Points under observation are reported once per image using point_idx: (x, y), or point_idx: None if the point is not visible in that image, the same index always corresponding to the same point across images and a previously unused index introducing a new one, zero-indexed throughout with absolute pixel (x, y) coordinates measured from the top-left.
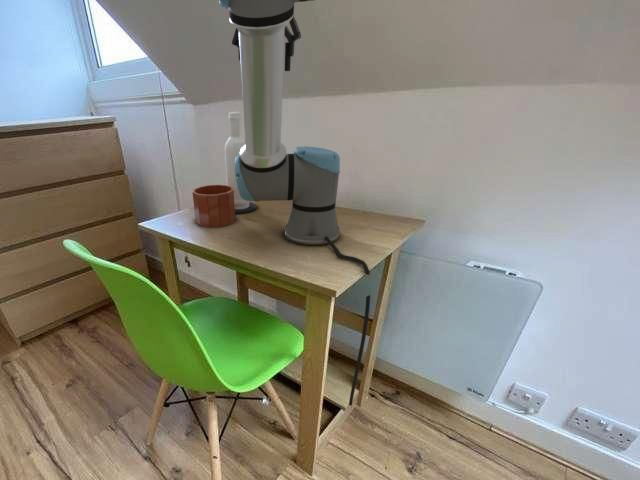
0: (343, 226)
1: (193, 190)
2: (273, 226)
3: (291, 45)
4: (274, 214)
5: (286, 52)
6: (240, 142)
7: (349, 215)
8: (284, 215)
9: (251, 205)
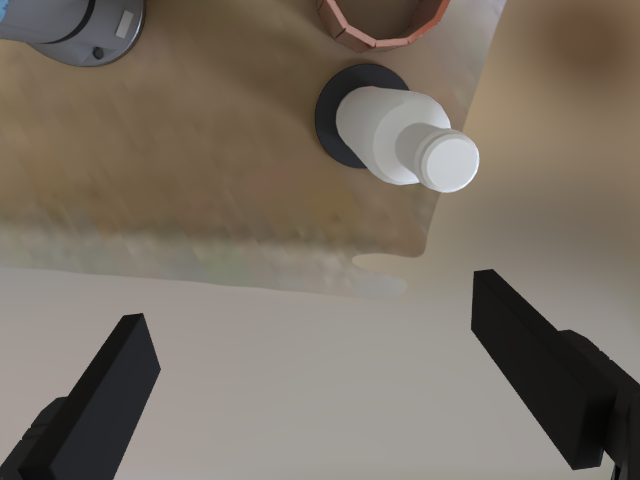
0: (47, 98)
1: None
2: (199, 17)
3: (10, 466)
4: (249, 111)
5: (78, 397)
6: (379, 123)
7: (78, 185)
8: (221, 115)
9: (337, 143)
